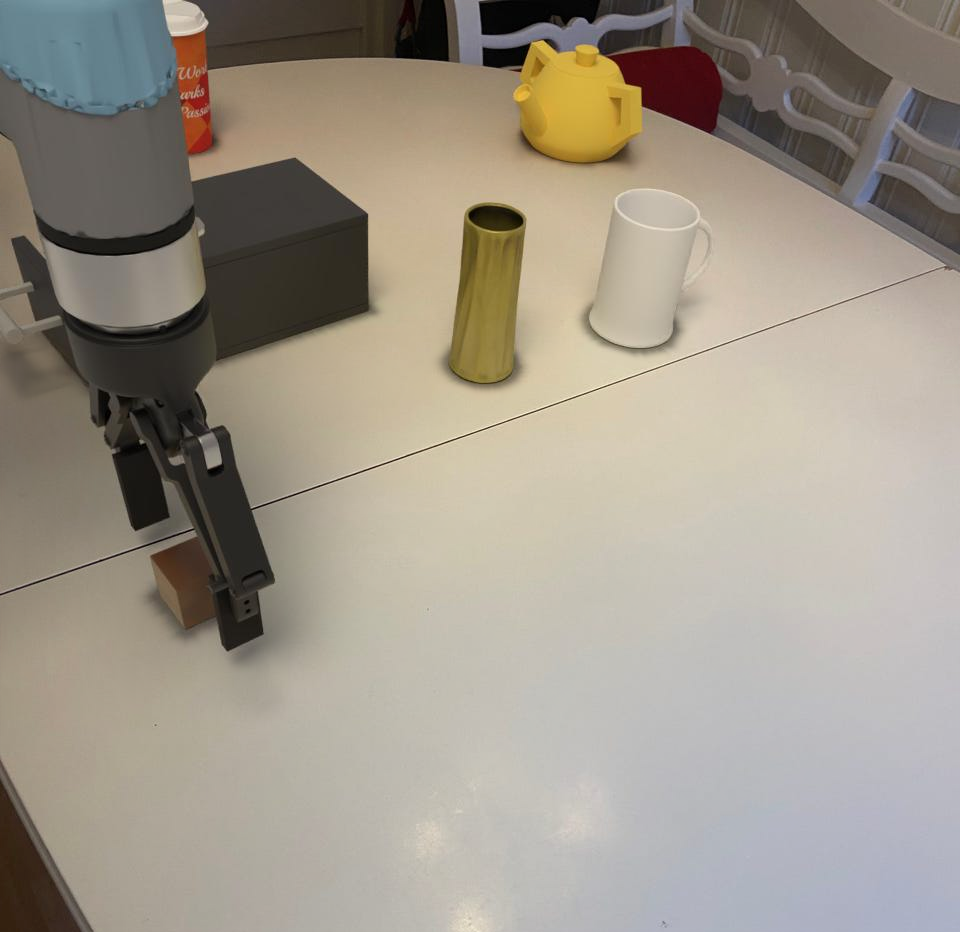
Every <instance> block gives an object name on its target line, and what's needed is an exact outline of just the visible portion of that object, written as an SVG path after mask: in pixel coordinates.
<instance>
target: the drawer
mask: <svg viewBox="0 0 960 932" xmlns="http://www.w3.org/2000/svg"><path fill="white" fill-rule="evenodd" d="M10 242H11V246H12V249H13V252H14V255H15V259H16V263H17V265H18V268H19V273H20V275H21V279H22V282H23V283H20V284H15V285H12V286H8V287H5V288H0V301H1V300H5V299H9V298H13V297H17V296H21V295H23V294H26V295H27V299H28V301H29V305H30V309H31V312H32V315H33V319H34V321H32V322H29V323H26V324H23V325H19V326H18V324H17V322H16V321H14V319H13V318H12V317H11V315H10V314H9V313H8V311H6V309H5V308H4V307H3V305H2V304H1V303H0V334H1V335H2V336H3V337H4V339H5V340H6V341H7V342H8V343H9V344H12V345H18V344H20V343H21V342H23V340H24V337H25V336H29V335H32V334H35V333H39V332H42V331H43V333H44V334H45V336H46V337H47V338H48V339H49V340H50V342H51V343H52V344H54V346H55V348H56V349H57V350H58V351H59V352H60V354H61V355H62V356H63V357H64V358H65V360H66V361H67V362H68V363H69V364H70V366H71V367H72V368H73V370H74V371H75V372H76V373H77V375H79V377H80V378H81V379H82V380H83V382H84V383H85V384H86V385H87V386H88V387H89V382H88V381H87V380H86V379H85V378H84V377H83V376H82V374H81V373H80V372H79V370H78V368H77V365H76V362H75V359H74V355H73V351H72V348H71V344H70V341H69V337H68V333H67V330H66V326H65V323H64V319H63V307H62V306H61V305H60V304H59V302H58V299H57V297H56V295H55V291H54V288H53V284H52V280H51V277H50V273H49V269H48V266H47V262H46V258H45V256H43V254H42V253H41V252H40V251H39V250H38V249H37V248H36V247H35V246H34V245H33V243H32V242H31V241H30V240H29V239H28V237H26V235H19V236H16V237H11V238H10Z"/></svg>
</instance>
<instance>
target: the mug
mask: <svg viewBox="0 0 960 932" xmlns="http://www.w3.org/2000/svg"><path fill="white" fill-rule="evenodd" d="M699 229H700V230H701V231H703V232H704V233H705V235H706V237H707V248H706V249H707V250H706V252H705V255H704V257H703V260H702V262H701V263H700V265H699V266H698V267H697V269H696V270H695V271H694V272H693V273H692V274H691V275H690V276H688V277H687V278H686V279H685V277H686V274H687V271H688V266H689V262H690V258H691V254H692V251H693V248H694V244H695V241H696V240H695V239H696V236H697V232H698V230H699ZM605 241H606V242H605V247H604V252H603V257H602V261H601V266H600V272H599V277H598V281H597V287H596V292H595V297H594V300H593V301H594V302H593V304H592V307H591V309H590V312H589V316H588V321H589V325H590V326H591V328H592V330H593V331H594V332H595V333H596V334H597V335H598V336H600V337H601V338H602V339H604V340H606V341H608V342H609V343H612V344H614V345H618V346H622V347H625V348H633V349H648V348H654V347H658V346H660V345H662V344H664V343H666V342H667V341H668V340H669V339H670V338H671V337H672V335H673V331H674V319H675V315H676V312H677V307H678V304H679V299H680V296H681V293H683V292H686V290H688V289H689V288H690V287H692V286H693V285H695V284H696V282H698V281H699V279H700V278H701V277H702V276H703V275H704V274H705V272H706V270H707V269H708V268H709V265H710V263H711V261H712V258H713V255H714V251H715V245H716V244H715V241H716V240H715V234H714V231H713V229H712V227H711V225H710V224H709V223H708V221H707V220H705V219H704V218H702V217H701V211H700V209H699V208H698V206H696V204H695V203H693V202H692V201H691V200H689V199H688V198H686V197H684V196H681V195H679V194H678V193H675V192H671V191H667V190H663V189H658V188H643V187H642V188H633V189H629V190H625V191H623V192H621V193H620V194H618V195H617V196H616V197H615V199H614V200H613V206H612V210H611V216H610V221H609V226H608V231H607V236H606V240H605Z"/></svg>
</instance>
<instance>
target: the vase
mask: <svg viewBox="0 0 960 932" xmlns="http://www.w3.org/2000/svg"><path fill="white" fill-rule="evenodd" d="M526 228H527V217H526V215H525V214H524V213H523V212H522V211H521V210H520V209H517V208H516V207H514V206H512V205H509V204H506V203H502V202H491V201H489V202H480V203H479V202H478V203H476V204H473V205H472V206H470V207H468V208H467V209H466V211H465V212H464V215H463V228H462V244H461V254H460V271H459V280H458V281H459V282H458V289H457V296H456V302H455V303H456V304H455V311H454V320H453V327H452V328H453V329H452V336H451V344H450V345H451V347H450V352H449V356H448V365H449V367H450V369H451V370H452V371H453V372H454V373H455V374H456V375H458V377H460V378H461V379H464V380H467V381H469V382H473V383H479V384H489V383H490V384H491V383H496V382H500V381H502V380H504V379H506V378H507V377H508V376H509V375H510V374H511V373H512V372H513V370H514V367H515V366H514V353H515V344H516V331H517V330H516V329H517V314H518V303H519V293H520V284H521V274H522V264H523V255H524V246H525V237H526V236H525V235H526Z"/></svg>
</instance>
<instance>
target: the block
mask: <svg viewBox="0 0 960 932" xmlns="http://www.w3.org/2000/svg"><path fill="white" fill-rule="evenodd" d="M149 559H150V562H151V567H152V570H153V574H154V578H155V582H156V586H157V589H158V594H159V595H158V596H160V597H161V599H162V600H163V602H164V603H165V604H166V606H167V607H168V608H169V610H170V612H172V614H173V615H174V616H175V618H176V619H177V620H178V622H179V623H180V625H181V626H182V627H183V629H184V630H187V629H190V628H192V627H194V626H196V625H199V624H200V623H203V622H205V621H207V620H209V619H212V618H214V617H216V613H215V608H214V603H213V598H212V594H211V593H210V592H209V591H208V589H207V587H206V584H208V583H210V582H209V577H208V576H209V575H211V574H213V570H212V568H211V566H210V564H209V562H208V559H207V557H206V555H205V553H204V550H203V548H202V546H201V544H200V541H199V539H198V537H197V535H196V536H194V537H192V538H189V539H187V540H185V541H181V542H179V543H177V544H175V545H172V546H170V547H167V548H166V549H165V548H164V549H162V550H160V551H158V552H155V553H153V554H150V556H149Z"/></svg>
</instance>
